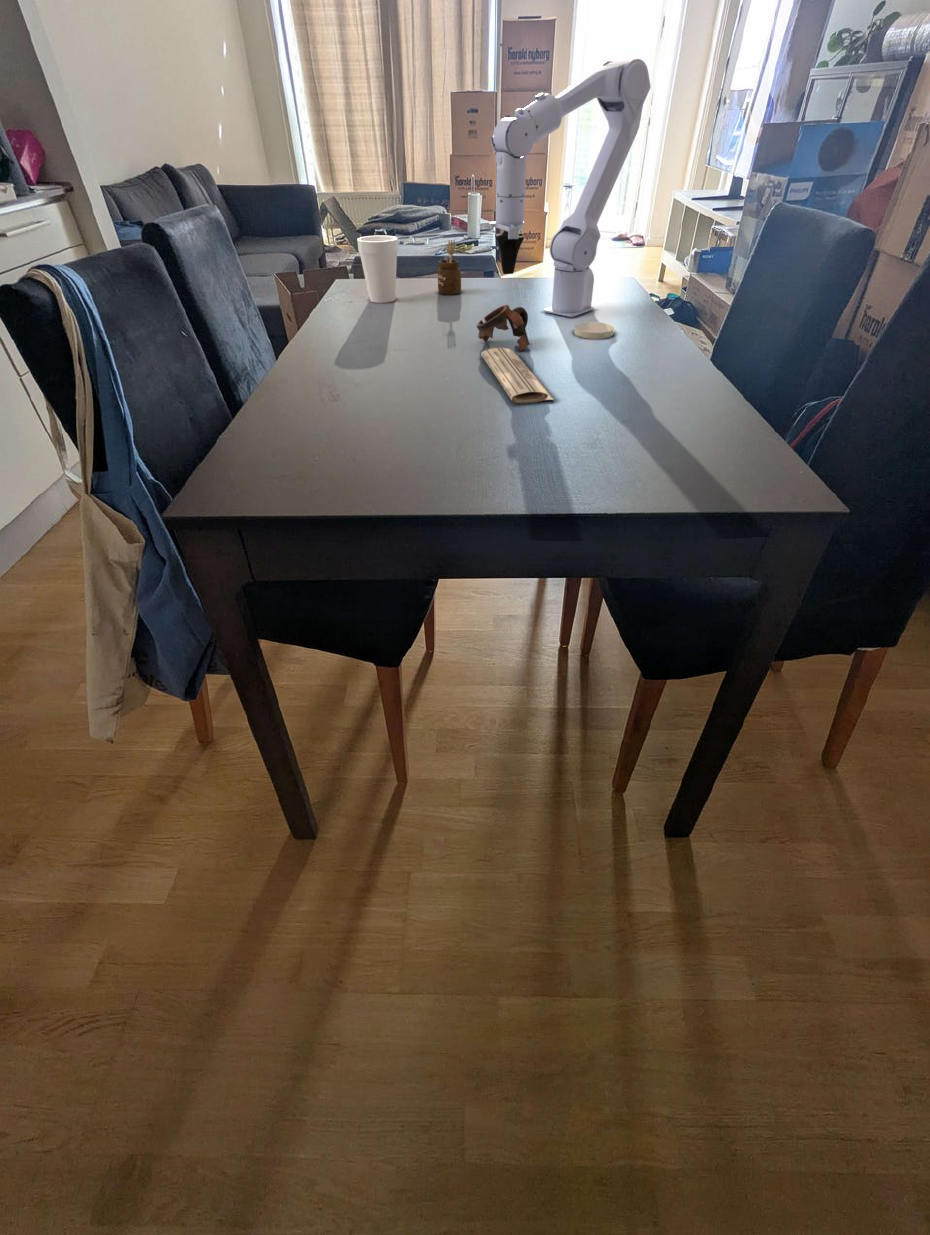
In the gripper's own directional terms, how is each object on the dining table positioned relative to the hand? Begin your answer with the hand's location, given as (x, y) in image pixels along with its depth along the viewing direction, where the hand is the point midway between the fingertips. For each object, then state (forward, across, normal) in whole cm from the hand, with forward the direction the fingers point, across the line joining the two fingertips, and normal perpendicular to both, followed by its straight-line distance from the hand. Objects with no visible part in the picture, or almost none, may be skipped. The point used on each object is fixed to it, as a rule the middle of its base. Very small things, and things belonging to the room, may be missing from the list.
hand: (507, 273), depth 130 cm
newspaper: (+10, +37, -3) cm, 38 cm away
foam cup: (+10, -23, -28) cm, 37 cm away
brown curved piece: (+10, +17, -2) cm, 20 cm away
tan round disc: (+9, +11, +17) cm, 22 cm away
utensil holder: (+10, -28, -11) cm, 32 cm away
